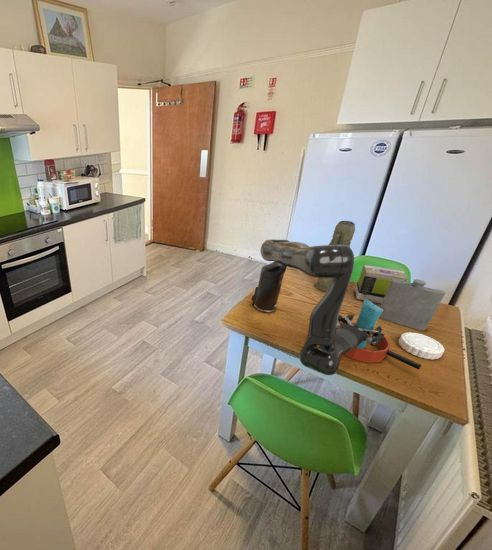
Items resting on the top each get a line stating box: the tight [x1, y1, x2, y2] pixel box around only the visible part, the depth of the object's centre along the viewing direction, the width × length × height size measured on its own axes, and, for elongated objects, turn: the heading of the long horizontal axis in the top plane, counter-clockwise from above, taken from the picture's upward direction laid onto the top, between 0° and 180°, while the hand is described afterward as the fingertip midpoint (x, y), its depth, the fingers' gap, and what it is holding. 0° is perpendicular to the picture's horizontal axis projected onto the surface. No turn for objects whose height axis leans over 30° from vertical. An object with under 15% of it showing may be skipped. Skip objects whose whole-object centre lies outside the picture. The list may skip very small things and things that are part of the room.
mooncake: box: [398, 331, 446, 360], centre depth 110 cm, size 12×12×4 cm
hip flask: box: [379, 278, 446, 331], centre depth 120 cm, size 16×4×20 cm, turn 45°
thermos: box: [315, 220, 356, 293], centre depth 143 cm, size 9×12×35 cm
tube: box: [355, 299, 383, 349], centre depth 108 cm, size 7×5×19 cm, turn 12°
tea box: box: [354, 264, 409, 305], centre depth 138 cm, size 15×10×15 cm, turn 59°
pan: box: [337, 321, 422, 370], centre depth 108 cm, size 26×17×5 cm, turn 34°
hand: (365, 322), depth 107 cm, fingers open, 8 cm apart
